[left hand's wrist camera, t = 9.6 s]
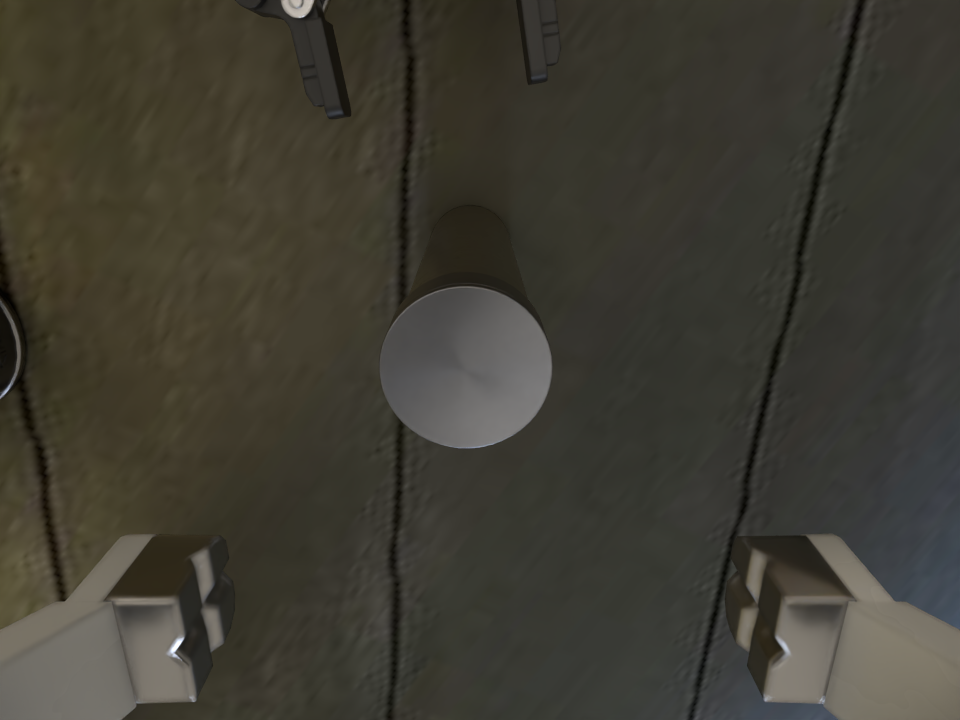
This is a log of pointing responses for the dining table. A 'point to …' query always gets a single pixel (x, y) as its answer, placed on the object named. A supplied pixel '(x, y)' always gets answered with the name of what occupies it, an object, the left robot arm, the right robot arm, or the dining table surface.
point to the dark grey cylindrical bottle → (470, 248)
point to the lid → (466, 361)
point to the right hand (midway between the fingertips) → (438, 100)
